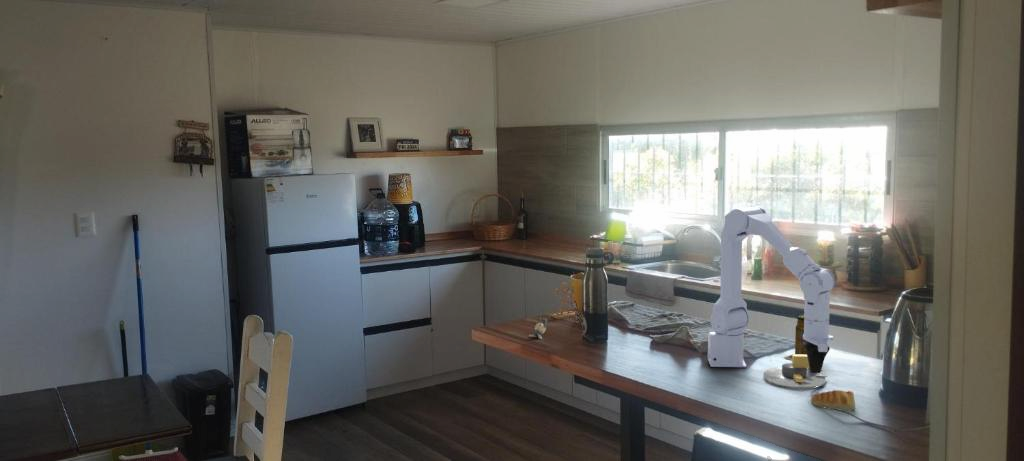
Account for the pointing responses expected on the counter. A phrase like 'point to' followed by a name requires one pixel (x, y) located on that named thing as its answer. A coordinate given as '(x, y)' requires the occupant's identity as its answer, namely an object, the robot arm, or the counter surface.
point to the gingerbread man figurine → (567, 314)
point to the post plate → (779, 379)
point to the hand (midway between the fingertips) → (815, 372)
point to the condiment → (799, 337)
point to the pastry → (835, 400)
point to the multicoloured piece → (796, 367)
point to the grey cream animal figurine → (540, 328)
